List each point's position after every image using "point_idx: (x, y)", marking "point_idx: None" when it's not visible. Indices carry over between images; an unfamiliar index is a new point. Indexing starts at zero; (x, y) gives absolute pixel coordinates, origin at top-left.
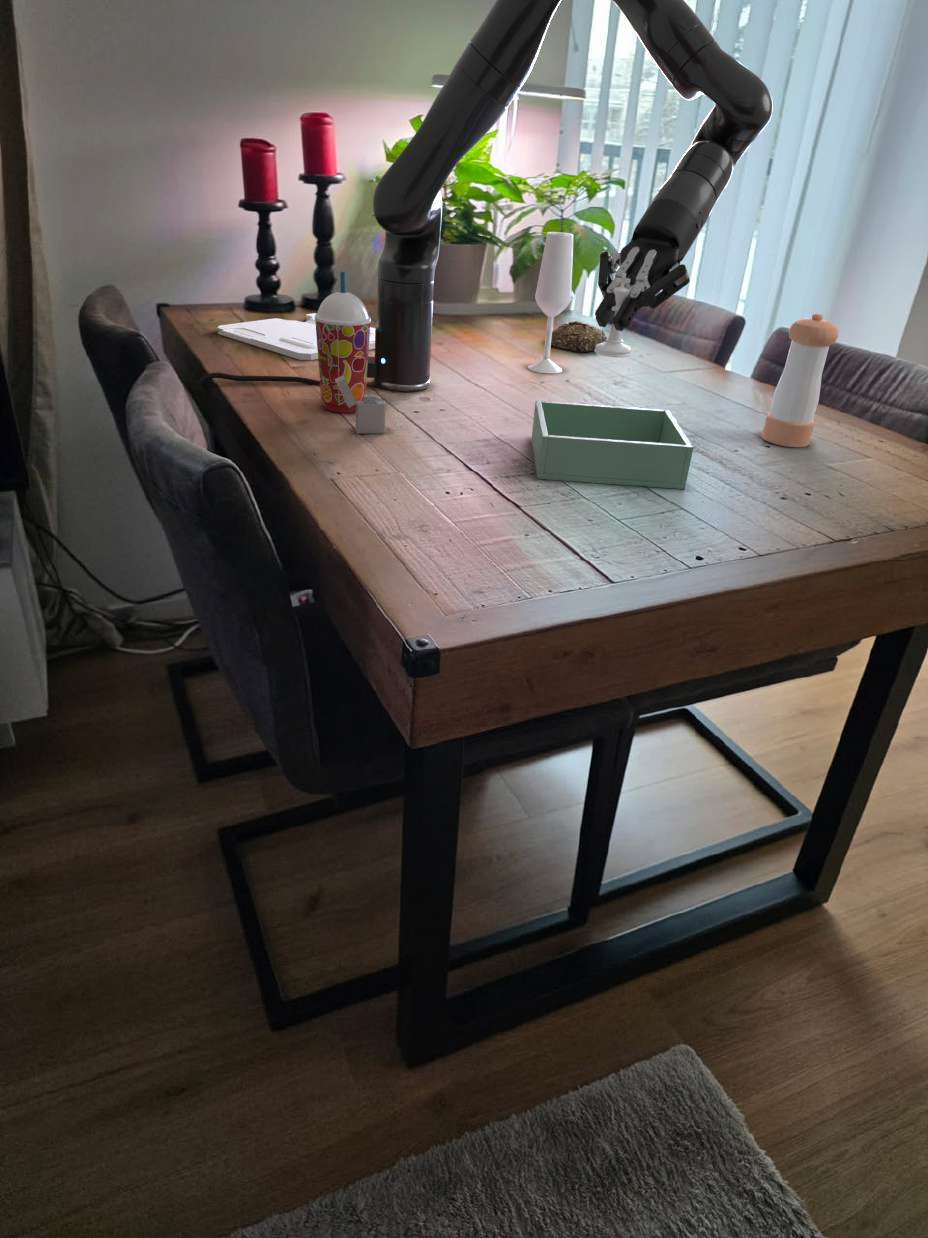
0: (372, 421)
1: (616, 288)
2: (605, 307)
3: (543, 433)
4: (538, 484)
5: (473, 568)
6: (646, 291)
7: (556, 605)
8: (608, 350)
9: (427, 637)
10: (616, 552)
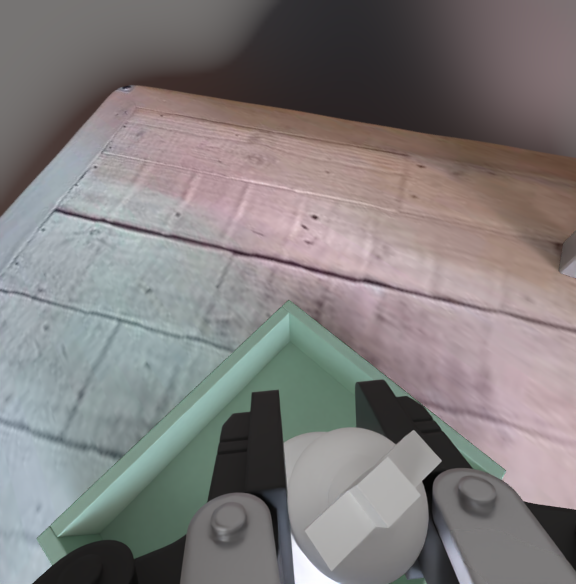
0: (572, 246)
1: (379, 445)
2: (372, 409)
3: (299, 310)
4: None
5: (168, 149)
6: (109, 576)
7: (79, 158)
8: (293, 439)
9: (127, 91)
10: (80, 254)
